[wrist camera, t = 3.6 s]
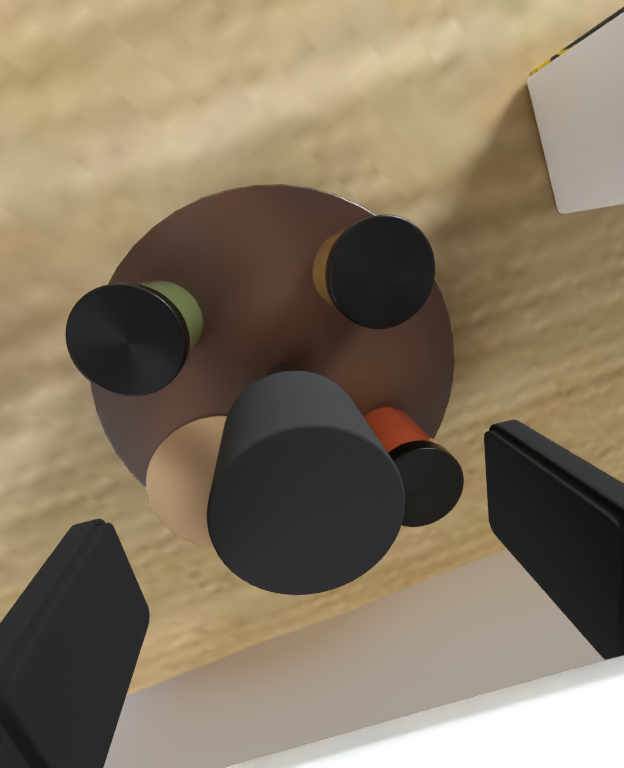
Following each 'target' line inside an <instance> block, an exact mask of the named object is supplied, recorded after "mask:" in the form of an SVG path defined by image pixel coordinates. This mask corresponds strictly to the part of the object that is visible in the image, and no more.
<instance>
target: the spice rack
mask: <svg viewBox="0 0 624 768" xmlns="http://www.w3.org/2000/svg"><path fill="white" fill-rule="evenodd" d="M434 277H435V260H434V255H433V251H432V248H431V246H430V244H429V241H428V239H427V238H426V236H425V235H424V234H423V232H422V231H421V230H420V229H419V228H418V227H417V226H415V225H414V224H413V223H411V222H410V221H408V220H406V219H404V218H402V217H398V216H395V215H375V214H373V213H372V212H370V211H369V210H367V209H365V208H364V207H362V206H360V205H358V204H356V203H354V202H351V201H349V200H347V199H344V198H342V197H340V196H337V195H335V194H331V193H328V192H324V191H320V190H317V189H313V188H309V187H301V186H292V185H284V184H275V185H252V186H246V187H241V188H235V189H229V190H225V191H222V192H219V193H216V194H213V195H210V196H207V197H204V198H201V199H199V200H197V201H195V202H193V203H191V204H189V205H187V206H185V207H183V208H181V209H179V210H177V211H175V212H174V213H172V214H171V215H170V216H168V217H167V218H165V219H164V220H163V221H161V222H160V223H158V224H157V225H156V226H154V227H153V228H152V229H151V230H150V231H149V232H148V233H147V234H146V235H145V236H144V237H142V238H141V239H140V240H139V241H138V242H137V243H136V244H135V245H134V246H133V248H132V249H131V250H130V251H129V253H128V254H127V255H126V257H125V258H124V259H123V261H122V262H121V263H120V264H119V266H118V267H117V269H116V271H115V272H114V274H113V276H112V278H111V280H110V281H109V283H108V285H104V286H101V287H98V288H96V289H94V290H92V291H90V292H88V293H87V294H85V295H84V296H83V297H82V298H81V299H80V300H79V301H78V302H77V303H76V304H75V306H74V307H73V309H72V311H71V312H70V315H69V317H68V320H67V325H66V344H67V348H68V351H69V354H70V356H71V359H72V360H73V362H74V364H75V366H76V367H77V368H78V370H79V371H80V372H81V373H82V374H83V375H84V376H85V377H86V378H87V379H88V380H89V381H90V382H91V389H92V393H93V397H94V402H95V406H96V410H97V413H98V416H99V418H100V421H101V424H102V426H103V429H104V431H105V434H106V436H107V437H108V439H109V441H110V443H111V444H112V446H113V448H114V450H115V452H116V453H117V455H118V456H119V458H120V459H121V460H122V462H123V463H124V464H125V466H126V467H127V468H128V469H129V471H130V472H131V473H132V474H133V475H134V476H135V477H136V478H137V479H138V480H139V481H140V482H141V483H142V484H143V485H144V486H145V488H146V491H147V496H148V500H149V502H150V505H151V507H152V509H153V511H154V513H155V515H156V516H157V517H158V519H159V520H160V521H161V522H162V523H163V524H164V525H165V526H166V527H167V528H168V529H169V530H170V531H172V532H173V533H174V534H176V535H178V536H179V537H181V538H183V539H185V540H188V541H190V542H193V543H196V544H199V545H204V546H210V547H214V548H215V550H216V552H217V554H218V556H219V557H220V558H221V560H222V561H223V563H224V564H225V565H226V566H227V567H228V568H229V569H230V570H231V571H232V572H233V573H234V574H236V575H237V576H238V577H239V578H241V579H242V580H244V581H246V582H248V583H249V584H251V585H253V586H256V587H258V588H260V589H263V590H267V591H270V592H274V593H280V594H289V595H306V594H314V593H320V592H324V591H328V590H332V589H335V588H338V587H340V586H343V585H345V584H347V583H349V582H351V581H353V580H355V579H357V578H358V577H360V576H362V575H363V574H365V573H366V572H367V571H368V570H370V569H371V568H372V567H373V566H374V565H375V564H377V563H378V562H379V561H380V560H381V559H382V557H383V556H384V555H385V554H386V553H387V551H388V550H389V549H390V547H391V545H392V544H393V542H394V541H395V539H396V537H397V535H398V532H399V530H400V527H401V525H402V526H408V527H419V526H424V525H428V524H431V523H433V522H436V521H438V520H439V519H441V518H442V517H444V516H445V515H446V514H448V513H449V512H450V511H451V510H452V509H453V507H454V506H455V505H456V503H457V502H458V500H459V498H460V496H461V493H462V490H463V484H464V478H463V472H462V469H461V466H460V465H459V463H458V461H457V460H456V459H455V458H454V457H453V456H452V455H451V454H450V453H449V452H448V451H447V450H446V449H445V448H444V447H442V446H441V445H439V444H437V443H436V442H435V441H434V440H433V439H434V437H435V435H436V433H437V431H438V429H439V426H440V424H441V422H442V420H443V417H444V414H445V411H446V408H447V405H448V402H449V397H450V392H451V387H452V381H453V369H454V347H453V335H452V330H451V325H450V320H449V315H448V312H447V309H446V306H445V303H444V300H443V297H442V294H441V292H440V290H439V288H438V286H437V284H436V282H435V280H434Z"/></svg>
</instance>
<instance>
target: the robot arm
mask: <svg viewBox="0 0 624 768" xmlns="http://www.w3.org/2000/svg"><path fill="white" fill-rule="evenodd" d="M484 446H485V463H486V481H487V498H488V515H489V523H490V526H491V529H492V531H493V532H494V534H495V535H496V536H497V538H498V539H499V540H500V541H501V542H502V543H503V544H504V546H505V547H506V548H507V549H508V550H509V551H510V552H511V554H512V555H513V556H514V557H515V558H516V559H517V560H518V561H519V563H520V564H521V565H522V566H523V567H524V568H525V570H526V571H527V572H528V573H529V574H530V575H531V576H532V578H533V579H534V580H535V581H536V582H537V583H538V584H539V586H540V587H541V588H542V589H543V590H544V591H545V592H546V594H547V595H548V596H549V597H550V598H551V599H552V600H553V601H554V603H555V604H556V605H557V606H558V607H559V608H560V610H561V611H562V612H563V613H564V614H565V615H566V616H567V618H568V619H569V620H570V621H571V622H572V623H573V624H574V626H576V628H577V629H578V630H579V631H580V632H581V634H582V635H583V636H584V637H585V638H586V639H587V640H588V642H589V643H590V644H591V645H592V646H593V647H594V648H595V650H596V651H597V652H598V653H599V654H600V655H601V656H602V657H603V658H604V659H605V660H603V661H600V662H596V663H592V664H588V665H585V666H581V667H578V668H574V669H570V670H567V671H563V672H560V673H556V674H553V675H549V676H545V677H542V678H538V679H534V680H531V681H528V682H524V683H520V684H517V685H513V686H509V687H506V688H502V689H499V690H495V691H491V692H488V693H484V694H480V695H477V696H473V697H470V698H466V699H463V700H459V701H456V702H452V703H448V704H445V705H441V706H438V707H434V708H430V709H427V710H423V711H420V712H417V713H413V714H409V715H406V716H402V717H399V718H395V719H392V720H388V721H385V722H382V723H378V724H374V725H371V726H367V727H364V728H360V729H357V730H353V731H350V732H346V733H343V734H339V735H336V736H332V737H329V738H326V739H322V740H318V741H315V742H312V743H308V744H304V745H301V746H297V747H294V748H290V749H287V750H283V751H280V752H276V753H273V754H269V755H266V756H262V757H259V758H255V759H252V760H248V761H245V762H242V763H238V764H235V765H231V766H228V767H224V768H624V483H622V482H620V481H618V480H617V479H615V478H613V477H612V476H610V475H608V474H607V473H605V472H603V471H602V470H600V469H598V468H597V467H595V466H593V465H592V464H590V463H588V462H587V461H585V460H583V459H581V458H580V457H578V456H576V455H575V454H573V453H571V452H570V451H568V450H566V449H565V448H563V447H561V446H560V445H558V444H556V443H555V442H553V441H551V440H550V439H548V438H546V437H545V436H543V435H541V434H539V433H538V432H536V431H534V430H533V429H531V428H529V427H528V426H526V425H524V424H523V423H521V422H519V421H517V420H510V421H505V422H501V423H497V424H493V425H491V426H490V429H489V431H488V432H486V433H485V435H484ZM148 624H149V608H148V605H147V603H146V601H145V598H144V596H143V594H142V591H141V589H140V587H139V584H138V582H137V580H136V577H135V575H134V573H133V570H132V568H131V566H130V563H129V561H128V559H127V556H126V554H125V552H124V549H123V547H122V545H121V542H120V540H119V538H118V535H117V533H116V531H115V528H114V527H113V525H112V524H111V523H105V522H104V521H103V520H102V519H96V520H92V521H88V522H83V523H79V524H75V525H73V526H72V527H71V528H70V529H69V530H68V532H67V533H66V535H65V536H64V537H63V539H62V540H61V541H60V543H59V544H58V545H57V547H56V548H55V550H54V551H53V552H52V554H51V555H50V556H49V558H48V559H47V560H46V562H45V563H44V564H43V566H42V567H41V569H40V570H39V571H38V573H37V574H36V575H35V577H34V578H33V579H32V581H31V582H30V583H29V585H28V586H27V588H26V589H25V590H24V592H23V593H22V594H21V596H20V597H19V598H18V600H17V601H16V603H15V604H14V605H13V607H12V608H11V609H10V611H9V612H8V613H7V615H6V616H5V617H4V619H3V620H2V622H1V623H0V768H103V767H104V764H105V761H106V757H107V754H108V751H109V748H110V745H111V742H112V738H113V735H114V732H115V729H116V726H117V723H118V719H119V716H120V713H121V710H122V707H123V704H124V701H125V697H126V694H127V691H128V688H129V685H130V682H131V678H132V675H133V672H134V669H135V666H136V663H137V660H138V656H139V653H140V650H141V647H142V644H143V641H144V637H145V634H146V631H147V628H148Z"/></svg>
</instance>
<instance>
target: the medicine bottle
mask: <svg viewBox="0 0 624 768" xmlns="http://www.w3.org/2000/svg"><path fill="white" fill-rule="evenodd" d="M527 84H528V88H529V93H530V97H531V101H532V105H533V109H534V113H535V118H536V122H537V126H538V130H539V134H540V139H541V143H542V147H543V151H544V155H545V159H546V164H547V168H548V172H549V176H550V180H551V185H552V189H553V193H554V197H555V201H556V205H557V210H558V211H559V212H560V213H563V214H565V213H572V212H578V211H584V210H590V209H597V208H603V207H609V206H616V205H622V204H624V7H623V8H621V9H620V10H618V11H617V12H615V13H614V14H613V15H611V16H610V17H608V18H607V19H605V20H604V21H603V22H601V23H600V24H598V25H597V26H595V27H594V28H593V29H591V30H590V31H588V32H587V33H585V34H584V35H583V36H581V37H580V38H578V39H577V40H575V41H574V42H573V43H571V44H570V45H568V46H567V47H565V48H564V49H563V50H561V51H560V52H558V53H557V54H555V55H554V56H553V57H551V58H550V59H548V60H547V61H545V62H544V63H543V64H541V65H540V66H538V67H537V68H535V69H534V70H533V71H532V72H531V73H530V74H529V76H528V78H527Z"/></svg>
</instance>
